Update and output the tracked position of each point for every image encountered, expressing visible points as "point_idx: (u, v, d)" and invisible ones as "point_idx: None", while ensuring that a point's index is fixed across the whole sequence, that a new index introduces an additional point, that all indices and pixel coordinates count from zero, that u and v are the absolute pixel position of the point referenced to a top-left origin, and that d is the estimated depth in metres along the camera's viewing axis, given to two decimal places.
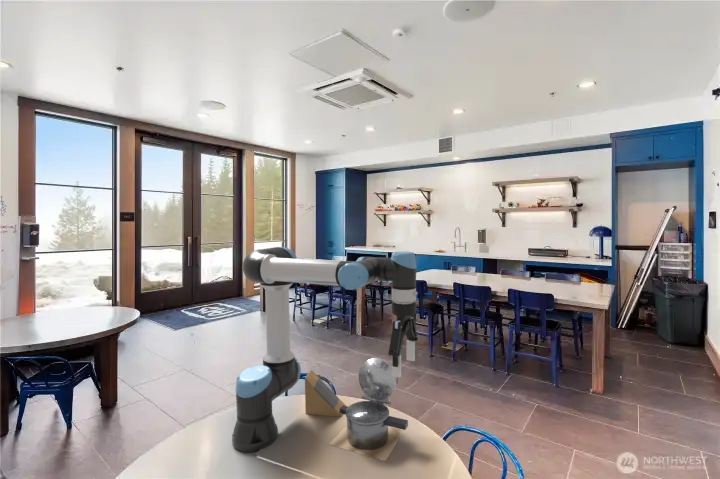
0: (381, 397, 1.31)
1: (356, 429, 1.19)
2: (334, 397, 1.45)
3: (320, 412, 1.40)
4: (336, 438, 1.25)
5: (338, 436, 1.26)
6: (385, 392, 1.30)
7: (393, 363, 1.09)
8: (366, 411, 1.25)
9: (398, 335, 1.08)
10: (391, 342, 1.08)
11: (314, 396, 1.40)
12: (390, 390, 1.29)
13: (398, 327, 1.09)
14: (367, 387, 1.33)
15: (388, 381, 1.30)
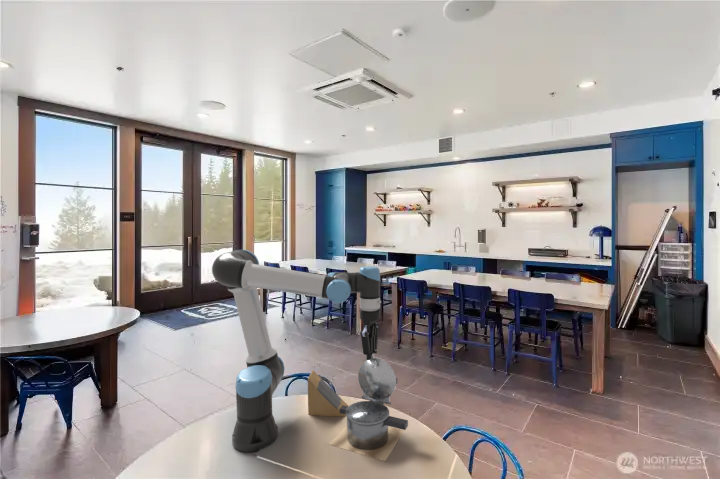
0: (381, 397, 1.31)
1: (356, 429, 1.19)
2: (337, 397, 1.45)
3: (323, 413, 1.40)
4: (336, 438, 1.25)
5: (338, 436, 1.26)
6: (385, 392, 1.30)
7: None
8: (366, 411, 1.25)
9: (367, 341, 1.32)
10: (363, 346, 1.33)
11: (317, 397, 1.40)
12: (390, 390, 1.29)
13: (365, 336, 1.31)
14: (367, 387, 1.33)
15: (387, 381, 1.30)
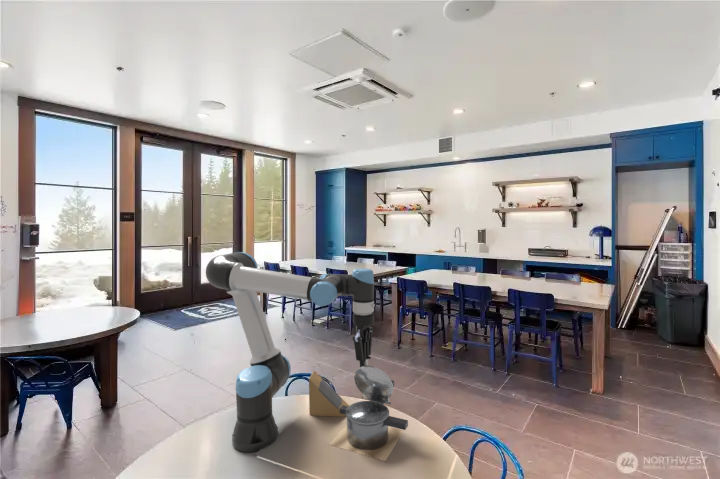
0: (380, 398, 1.30)
1: (356, 429, 1.19)
2: (338, 397, 1.45)
3: (324, 413, 1.40)
4: (336, 438, 1.25)
5: (338, 436, 1.26)
6: (383, 395, 1.29)
7: None
8: (366, 411, 1.25)
9: (360, 347, 1.26)
10: (356, 352, 1.28)
11: (318, 397, 1.39)
12: (388, 394, 1.28)
13: (358, 341, 1.26)
14: (365, 390, 1.32)
15: (384, 386, 1.27)
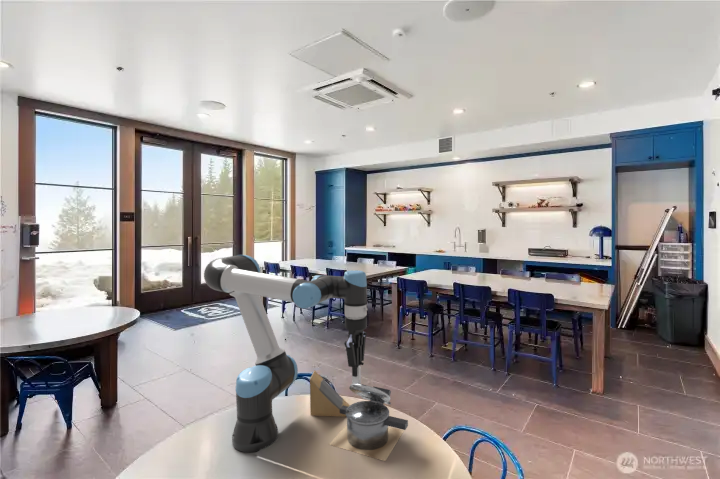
0: (380, 401, 1.30)
1: (356, 429, 1.19)
2: (339, 397, 1.45)
3: (325, 413, 1.39)
4: (336, 438, 1.25)
5: (338, 436, 1.26)
6: (382, 400, 1.28)
7: (353, 373, 1.25)
8: (366, 411, 1.25)
9: (352, 352, 1.21)
10: (348, 358, 1.22)
11: (319, 397, 1.39)
12: (386, 400, 1.26)
13: (350, 347, 1.20)
14: (363, 395, 1.30)
15: (381, 397, 1.25)
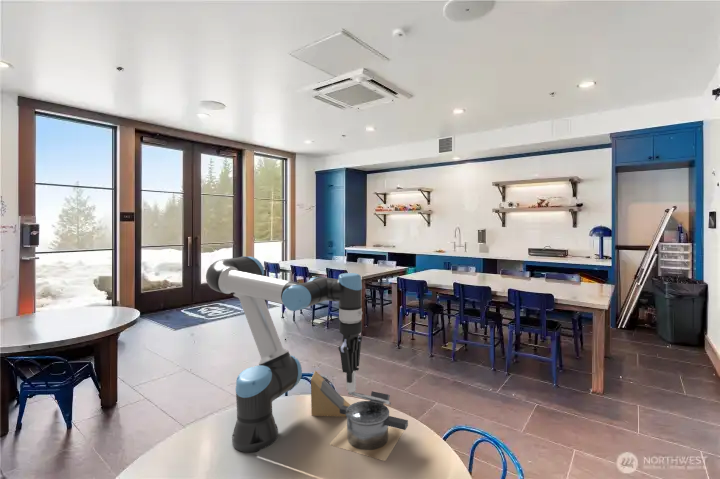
0: (380, 402, 1.30)
1: (356, 429, 1.19)
2: (340, 398, 1.44)
3: (326, 413, 1.39)
4: (336, 438, 1.25)
5: (338, 436, 1.26)
6: (381, 402, 1.27)
7: (347, 379, 1.21)
8: (366, 411, 1.25)
9: (346, 358, 1.17)
10: (342, 363, 1.18)
11: (320, 397, 1.39)
12: (385, 403, 1.26)
13: (344, 352, 1.16)
14: (363, 398, 1.30)
15: (380, 401, 1.24)
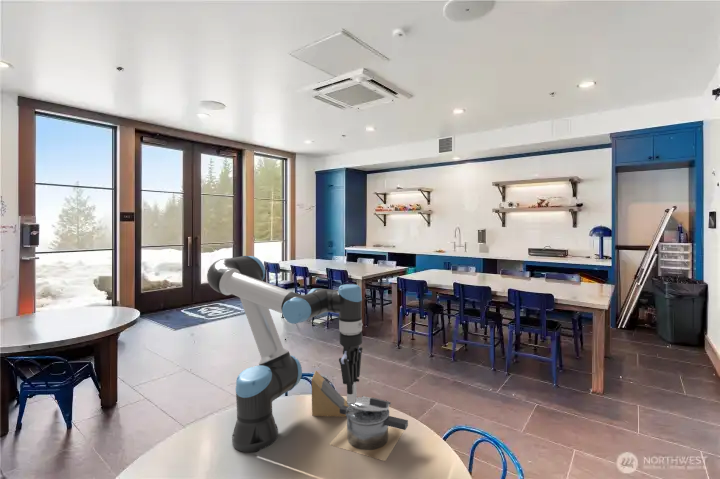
0: None
1: (356, 429, 1.19)
2: (340, 398, 1.44)
3: (327, 413, 1.39)
4: (336, 438, 1.25)
5: (338, 436, 1.26)
6: None
7: (347, 391, 1.21)
8: (366, 411, 1.25)
9: (347, 369, 1.17)
10: (342, 375, 1.19)
11: (321, 397, 1.39)
12: None
13: (345, 364, 1.17)
14: None
15: None
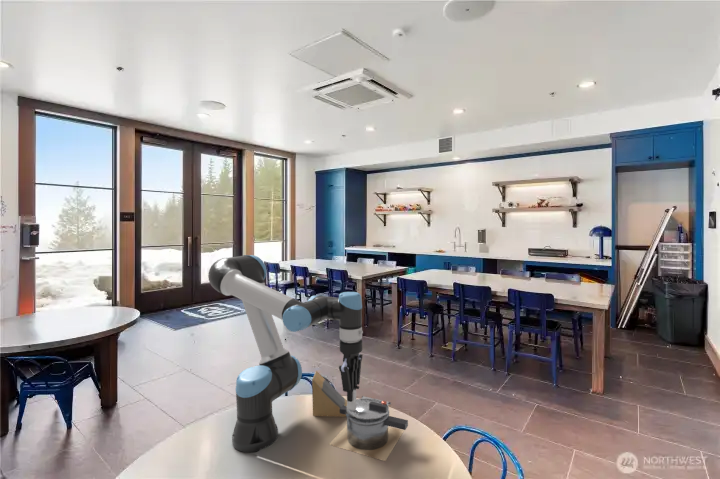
0: None
1: (356, 429, 1.19)
2: (341, 398, 1.44)
3: (328, 413, 1.39)
4: (336, 438, 1.25)
5: (338, 436, 1.26)
6: None
7: (348, 398, 1.21)
8: None
9: (347, 377, 1.18)
10: (343, 382, 1.19)
11: (322, 397, 1.39)
12: None
13: (345, 371, 1.17)
14: None
15: None
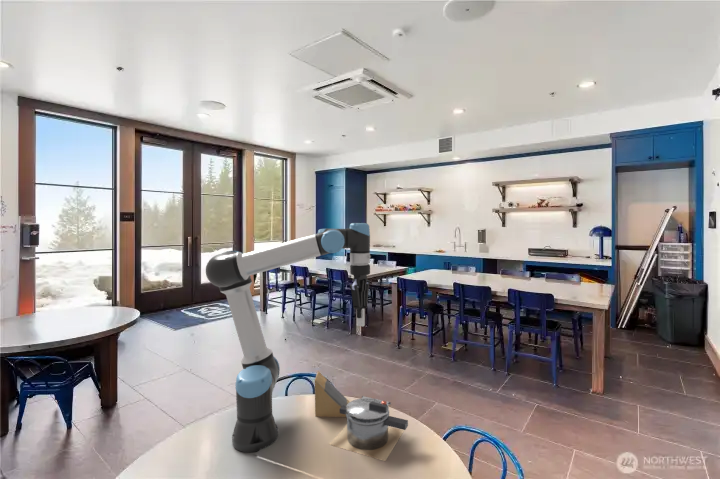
0: None
1: (356, 429, 1.19)
2: (343, 398, 1.44)
3: (330, 414, 1.39)
4: (336, 438, 1.25)
5: (338, 436, 1.26)
6: None
7: (357, 315, 1.38)
8: None
9: (357, 295, 1.35)
10: (353, 300, 1.36)
11: (324, 398, 1.39)
12: None
13: (355, 289, 1.34)
14: None
15: None
